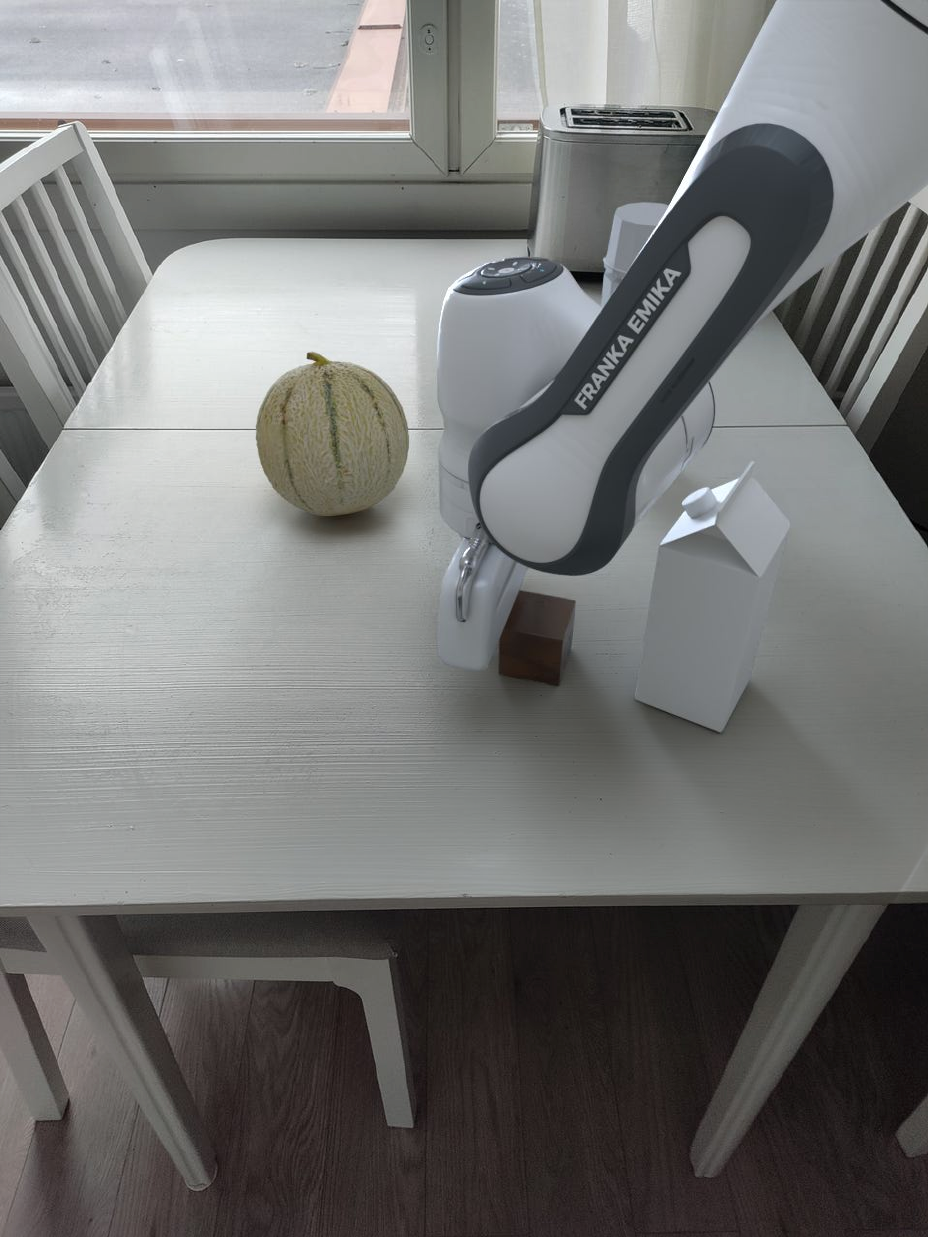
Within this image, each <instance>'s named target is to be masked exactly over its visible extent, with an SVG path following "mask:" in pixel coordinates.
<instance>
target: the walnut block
mask: <svg viewBox="0 0 928 1237" xmlns="http://www.w3.org/2000/svg"><path fill="white" fill-rule="evenodd" d="M576 605H577V600H576V599H572V598H571V599H570V598H565V597H559V596H555V595H550V594H549V595H548V594H543V593H537V592H533V591H527V590H521V589H519V592H518V594H517V597H516V599H515V602H514V604H513V607H512V609H511V612H510V614H509V617H508V619H507V622H506V624H505V627H504V629H503V632H502V634H501V636H500V639H499V646H498V670H497V671H498V672H497V673H498V675H500V676H506V677H510V678H515V679H521V680H525V681H530V682H534V683H539V684H545V685H549V686H555V687H559V686H560V684H561V682H562V678H563V674H564V671H565V668H566V665H567V662H568V658H569V656H570V652H571V649H572V645H573V635H574V625H575V616H576Z"/></svg>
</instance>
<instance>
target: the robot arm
mask: <svg viewBox="0 0 928 1237" xmlns="http://www.w3.org/2000/svg"><path fill="white" fill-rule="evenodd" d="M711 124H712V125H711V126H710V128H709V130H708V132H707V133H706V135H705V138H704V139H703V141H702V143H701V144H700V147H699V148H698V150H697V152H696V154H695V156H694V158H693V160H692V161H691V164H690V165H689V167H688V169H687V171H686V173H685V175H684V177H683V179H682V181H681V183H680V185H679V186H678V188H677V190H676V192H675V194H674V195H673V197H672V200H671V202H670V203H669V204H668V205H669V207H668V209H667V211H666V213H665V214H664V216H663V217H662V219H661V220H660V222H659V224H658V225H657V227H656V228H655V230H654V231H653V233H652V234H651V236H650V237H649V239H648V241H647V242H646V244H645V245H644V247H643V248H642V250H641V251H640V253H639V254H638V256H637V257H636V259H635V260H634V262H633V264H632V265H631V267H630V268H629V270H628V271H627V273H626V274H625V276H624V277H623V279H622V280H621V282H620V283H619V285H618V286H617V288H616V289H615V291H614V292H613V294H612V295H611V297H610V298H609V300H608V301H607V303H606V304H605V306H604V307H601V304H599V303H598V302H596V300H594V299H593V298H592V297H591V296H589V295H588V294H587V293H586V292H585V291H584V290H583V289H582V288H581V286H580V285H579V284H578V281H576V279H575V278H574V276H573V275H572V273H571V272H570V270H569V269H568V268H567V267H566V266H565V265H563V264H561V263H560V262H558V261H555V260H551V259H549V258H546V257H540V256H515V257H507V258H503V259H500V260H496V261H490V262H489V261H488V262H486V263H484V264H481V265H480V266H478V267H476V268H474V269H472V270H470V271H469V272H466V273H465V274H464V275H462V276H461V277H459V278H458V279H456V280H455V281H454V282H453V283H452V285H451V286H450V287H448V290H447V291H446V294H445V297H444V300H443V303H442V308H441V312H440V318H439V325H438V334H437V348H436V399H437V404H438V408H439V411H440V413H441V416H442V420H443V422H442V423H443V424H442V425H443V428H442V434H441V435H440V436H441V437H440V439H439V444H438V452H437V453H438V457H437V458H438V459H437V460H438V500H439V502H438V504H439V505H438V506H439V514H440V516H441V519H442V521H443V522H444V523H445V524H446V526H448V527H449V528H450V529H451V530H452V531H453V532H455V533H457V535H458V536H459V537H460V538H461V540H460V542H459V545H458V546H457V548H456V550H455V552H454V554H453V556H452V558H451V560H450V562H449V563H448V566H447V567H446V570H445V573H444V575H443V579H442V582H441V588H440V593H439V594H440V595H439V603H438V621H437V657H438V658H439V660H440V661H441V663H443V664H445V665H447V666H451V667H454V668H457V669H462V670H469V671H475V672H484V671H486V670H487V669H488V668H489V667H490V664H491V661H492V659H493V656H494V654H495V651H496V649H497V647H499V639H500V636H501V634H502V632H503V629H504V627H505V624H506V622H507V619H508V617H509V614H510V612H511V609H512V607H513V604H514V602H515V599H516V597H517V594H518V592H519V590H521V587H522V584H523V582H524V580H525V577H526V574H527V572H528V570H529V569H531V570H535V571H538V572H541V573H546V574H550V575H557V576H568V577H571V576H572V577H578V576H579V577H580V576H586V575H590V574H593V573H596V572H598V571H600V570H601V569H603V568H605V566H607V565H608V564H610V562H611V561H612V560H613V559H614V557H615V556H616V554H617V553H618V552H619V550H620V549H621V548H622V546H623V545H624V543H625V542H626V540H627V539H628V538H629V536H630V535H631V533H632V532H633V529H634V528H635V527H636V526H637V525H638V524H639V522H641V520H642V518H643V517H645V515H646V514H647V513H648V512H649V510H651V508H652V507H653V506H654V505H655V504H656V503H657V502H658V500H659V499H660V498H661V497H662V495H663V494H664V493H665V492H666V491H667V490H668V489H669V487H670V486H672V484H673V483H674V482H675V481H676V479H677V478H678V477H679V476H680V474H681V473H682V472H684V470H685V469H686V468H687V467H688V465H689V464H690V463H691V462H692V461H693V459H694V458H695V457H696V455H697V454H698V453H699V452H700V450H702V449H703V448H704V446H705V445H706V444H707V441H708V440H709V438H710V436H711V434H712V432H713V428H714V426H715V419H716V401H715V400H716V399H715V394H714V391H713V387H712V384H711V380H712V379H713V378H714V376H715V375H716V374H717V373H718V371H719V370H720V369H721V368H722V367H723V365H724V364H725V363H726V361H727V360H728V359H729V358H730V357H731V355H732V354H733V353H734V352H735V350H736V349H737V348H738V347H739V346H740V344H741V343H742V342H743V341H744V340H745V339H746V338H747V336H748V335H750V334H751V332H753V331H754V329H755V328H756V327H757V326H758V325H759V324H760V323H761V322H762V321H763V320H764V319H765V318H766V317H767V316H768V315H769V314H770V313H771V312H772V311H774V310H775V309H776V308H777V307H778V306H779V305H781V303H783V302H784V301H785V300H786V299H787V298H788V297H789V296H791V295H792V294H793V293H794V292H795V291H796V290H798V289H799V288H800V287H801V286H803V284H805V283H806V282H808V281H809V280H810V279H811V278H812V277H814V276H815V275H816V274H818V273H819V272H820V271H821V270H823V269H824V268H825V267H826V266H828V265H829V264H830V263H832V262H833V261H834V260H835V259H837V258H838V257H839V256H841V255H842V254H843V253H844V252H846V251H847V250H849V249H850V248H851V247H852V246H854V245H855V244H856V243H857V242H859V241H860V240H861V239H862V238H864V237H865V236H867V235H868V234H869V233H871V232H872V231H873V230H874V229H876V228H877V227H878V226H880V225H881V224H882V223H883V222H884V221H886V220H887V219H888V218H889V217H891V216H892V215H893V214H894V213H896V212H897V211H899V209H901V208H902V207H903V206H904V205H906V204H907V203H908V202H909V201H911V199H913V198H914V197H915V196H916V195H918V194H919V193H920V192H921V191H922V190H923V189H925V188H926V187H927V186H928V0H775V3H774V4H773V7H772V8H771V10H770V12H769V13H768V15H767V17H766V19H765V21H764V23H763V25H762V27H761V29H760V30H759V32H758V34H757V35H756V38H755V40H754V42H753V45H752V46H751V48H750V49H749V52H748V54H747V56H746V57H745V60H744V62H743V64H742V66H741V67H740V70H739V72H738V74H737V76H736V78H735V80H734V82H733V84H732V86H731V88H730V90H729V92H728V93H727V96H726V98H725V99H724V102H723V103H722V106H721V107H720V109H719V111H718V112H717V115H716V116H715V118H714V121H713V123H711Z"/></svg>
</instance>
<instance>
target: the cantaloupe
mask: <svg viewBox="0 0 928 1237" xmlns="http://www.w3.org/2000/svg"><path fill="white" fill-rule="evenodd" d="M306 360H309V361H313V362H312V363H307V364H304V365H300V366H297V367H295V368H293V369H291V370H288V371H286V372H285V373H283V374H282V375H281V376H280V377H279V378H278V379H277V380H276V381H275V382H274V383H273V384H272V385H271V386H270V387H269V389H268V390H267V392H266V394H265V396H264V397H263V400H262V402H261V405H260V407H259V409H258V413H257V417H256V425H255V440H256V447H257V453H258V458H259V463H260V465H261V468H262V471H263V473H264V475H265V477H266V478H267V480H268V482H269V483H270V485H271V488H272V489H273V490H275V491H276V493H277V494H279V496H280V497H282V498H283V499H284V500H285V501H286V502H288V503H290V504H291V505H292V506H294V507H296V508H298V509H300V510H302V511H305V512H307V513H309V514H313V515H315V516H318V517H335V516H342V515H348V514H354V513H359V512H362V511H364V510H366V509H369V508H370V507H373V506H375V505H377V504H378V503H380V502H381V501H382V500H384V499H385V498H386V497H387V496H388V495H389V494H391V493H392V491H393V490H394V489H395V487H396V485H397V483H398V482H399V481H400V479H401V477H402V475H403V474H404V471H405V468H406V465H407V460H408V456H409V448H410V434H409V426H408V425H409V424H408V421H407V420H408V419H407V418H406V414H405V411H404V407H403V405H402V404H401V402H400V400H399V398H398V397H397V395H396V393H395V392H394V390H393V389H392V388H391V386H389V384H388V383H387V382H386V381H384V380H383V379H382V378H381V377H380V376H379V375H378V374H376V373H375V372H373V371H372V370H370V369H368V368H365V367H364V366H361V365H359V364H355V363H352V362H350V361H340V360H330V359H328V358H327V357H325V356H323V355H322V354H320V353H317V352H315V351H310V352H306Z"/></svg>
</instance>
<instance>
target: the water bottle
mask: <svg viewBox="0 0 928 1237" xmlns="http://www.w3.org/2000/svg"><path fill="white" fill-rule="evenodd" d="M669 205H670V204H666V203H658V202H647V201H646V202H645V201H644V202H635V203H634V202H633V203H627V204H623V205H622V206H619V207H617V208H616V209H615V213H614V215H613V220H612V227H611V231H610V235H609V242H608V246H607V252H606V255H605V256H604V257H603V259H602V261H603V268H604V269H605V270H604V273H603V281H602V290H601V301H600V302H601V303H600V306H601V307H604V306H605V304H606V303H607V301H608V300H609V298H610V297H611V295H612V294H613V292H614V291H615V289H616V288H617V286H618V285H619V283H620V282H621V280H622V279H623V277H624V276H625V274H626V273H627V271H628V270H629V268H630V267H631V265H632V264H633V262H634V260H635V259H636V257H637V256H638V254H639V253H640V251H641V250H642V248H643V247H644V245H645V244H646V242H647V241H648V239H649V237H650V236H651V234H652V233H653V231H654V230H655V228H656V227H657V225H658V224H659V222H660V220H661V219H662V217H663V216H664V214H665V213H666V211H667V209H668V207H669Z"/></svg>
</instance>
